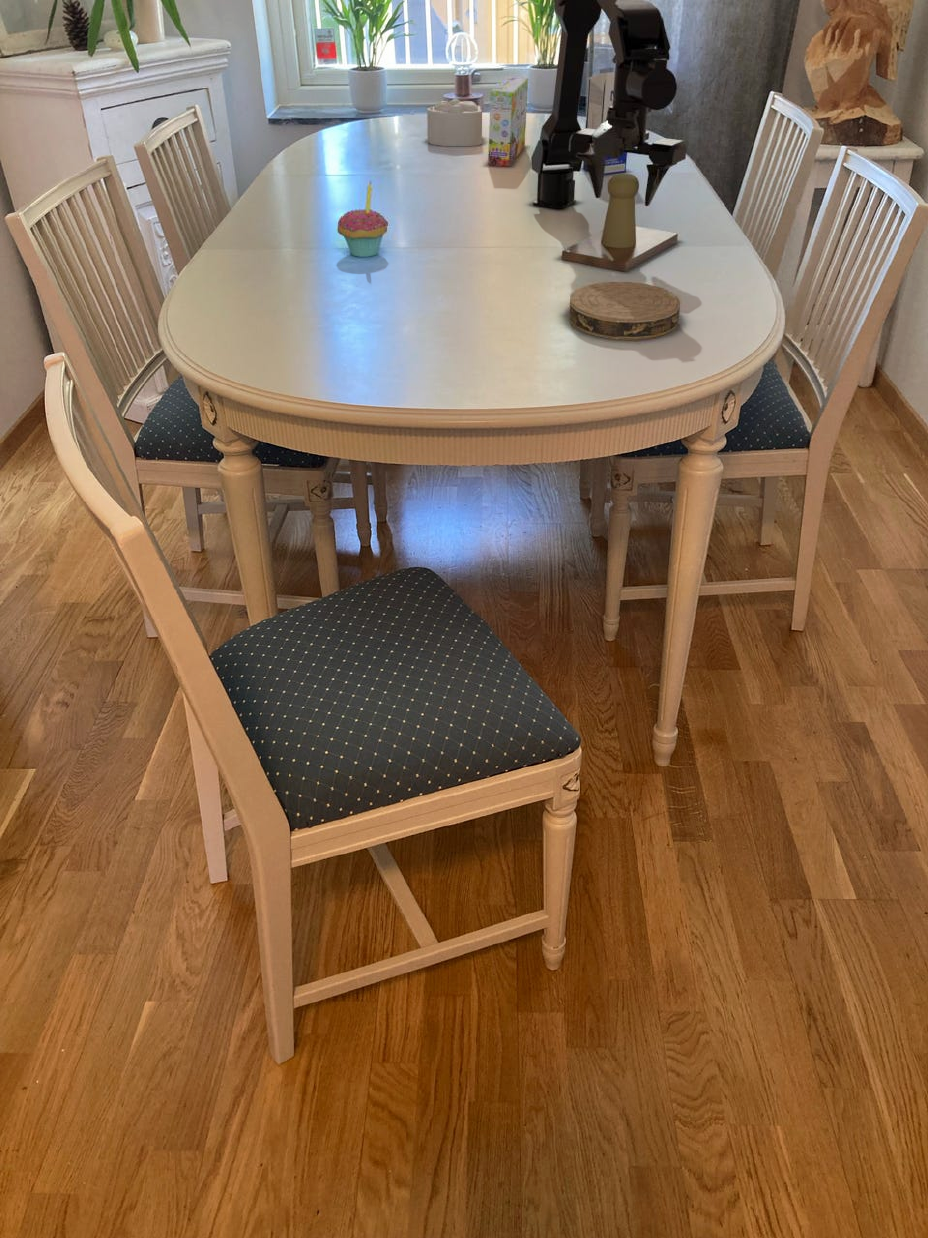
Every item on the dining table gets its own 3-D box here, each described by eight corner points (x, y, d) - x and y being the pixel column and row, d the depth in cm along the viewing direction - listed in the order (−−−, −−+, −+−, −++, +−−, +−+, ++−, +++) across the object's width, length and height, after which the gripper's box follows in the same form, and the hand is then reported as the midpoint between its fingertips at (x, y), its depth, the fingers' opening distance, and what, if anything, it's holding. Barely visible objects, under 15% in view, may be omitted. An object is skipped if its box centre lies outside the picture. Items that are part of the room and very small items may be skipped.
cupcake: (396, 248, 181) (393, 175, 174) (377, 262, 174) (373, 187, 167) (351, 243, 183) (346, 171, 176) (330, 257, 177) (324, 183, 170)
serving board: (561, 259, 176) (561, 250, 175) (616, 231, 189) (617, 222, 188) (624, 271, 170) (625, 262, 169) (677, 242, 183) (678, 233, 183)
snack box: (512, 167, 229) (513, 91, 220) (487, 166, 230) (488, 90, 221) (526, 146, 246) (529, 75, 237) (503, 145, 247) (504, 74, 238)
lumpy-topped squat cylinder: (482, 145, 247) (482, 105, 242) (427, 146, 246) (427, 106, 241) (480, 136, 255) (480, 97, 250) (427, 137, 255) (426, 98, 250)
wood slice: (602, 346, 144) (604, 325, 142) (549, 310, 156) (550, 290, 154) (699, 329, 149) (702, 309, 147) (641, 295, 161) (643, 276, 159)
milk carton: (599, 175, 223) (606, 71, 211) (582, 168, 228) (588, 66, 216) (626, 171, 225) (635, 68, 214) (609, 165, 230) (616, 64, 219)
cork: (597, 237, 180) (602, 170, 174) (631, 236, 181) (638, 169, 174) (604, 248, 175) (609, 179, 169) (639, 247, 176) (646, 178, 169)
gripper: (554, 100, 164) (549, 203, 173) (662, 113, 155) (651, 221, 164) (588, 90, 171) (582, 189, 180) (693, 101, 162) (681, 205, 172)
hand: (622, 201), depth 174 cm, fingers open, 9 cm apart
